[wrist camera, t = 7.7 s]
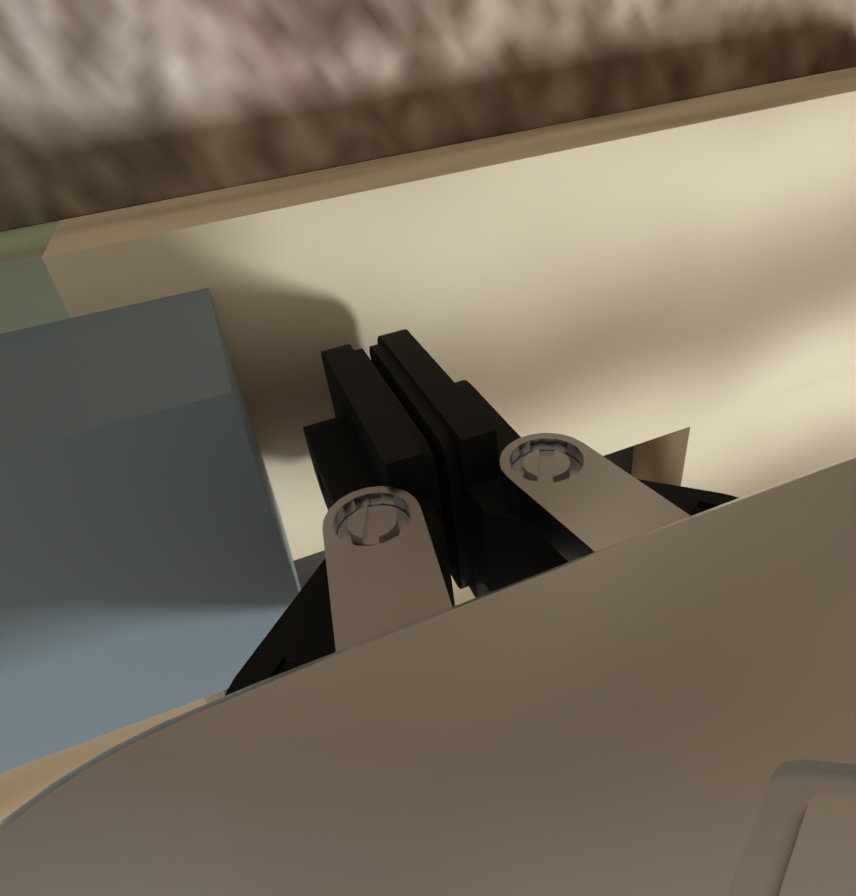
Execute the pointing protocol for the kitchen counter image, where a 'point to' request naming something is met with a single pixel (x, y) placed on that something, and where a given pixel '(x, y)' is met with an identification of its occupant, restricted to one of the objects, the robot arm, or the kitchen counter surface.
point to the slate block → (128, 523)
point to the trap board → (519, 294)
